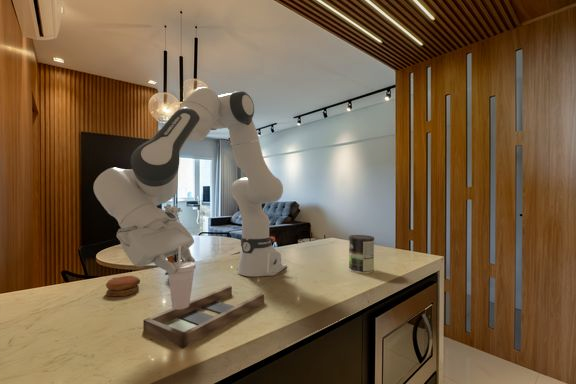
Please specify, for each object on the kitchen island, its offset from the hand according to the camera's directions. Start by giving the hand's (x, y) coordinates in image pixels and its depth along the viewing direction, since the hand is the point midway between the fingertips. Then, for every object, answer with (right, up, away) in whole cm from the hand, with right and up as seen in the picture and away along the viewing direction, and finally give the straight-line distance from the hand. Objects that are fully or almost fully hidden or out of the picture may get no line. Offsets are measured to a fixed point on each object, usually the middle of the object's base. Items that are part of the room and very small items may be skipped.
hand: (183, 267), depth 64 cm
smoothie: (-1, -9, 0) cm, 9 cm away
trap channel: (+4, -14, +8) cm, 17 cm away
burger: (-29, -15, +24) cm, 41 cm away
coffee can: (+55, -15, +52) cm, 77 cm away
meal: (-19, -15, +39) cm, 46 cm away
